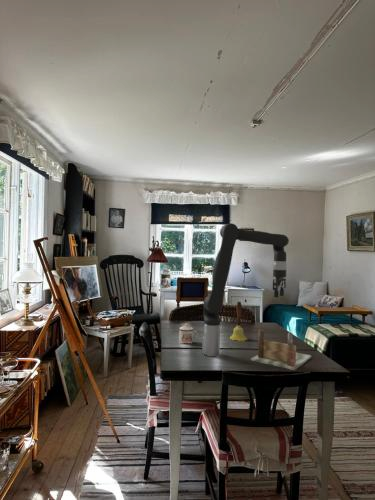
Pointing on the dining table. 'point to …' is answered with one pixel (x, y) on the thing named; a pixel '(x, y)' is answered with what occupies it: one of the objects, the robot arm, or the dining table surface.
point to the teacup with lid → (186, 334)
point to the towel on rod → (289, 364)
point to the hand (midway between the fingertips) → (279, 296)
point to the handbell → (238, 326)
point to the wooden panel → (279, 349)
